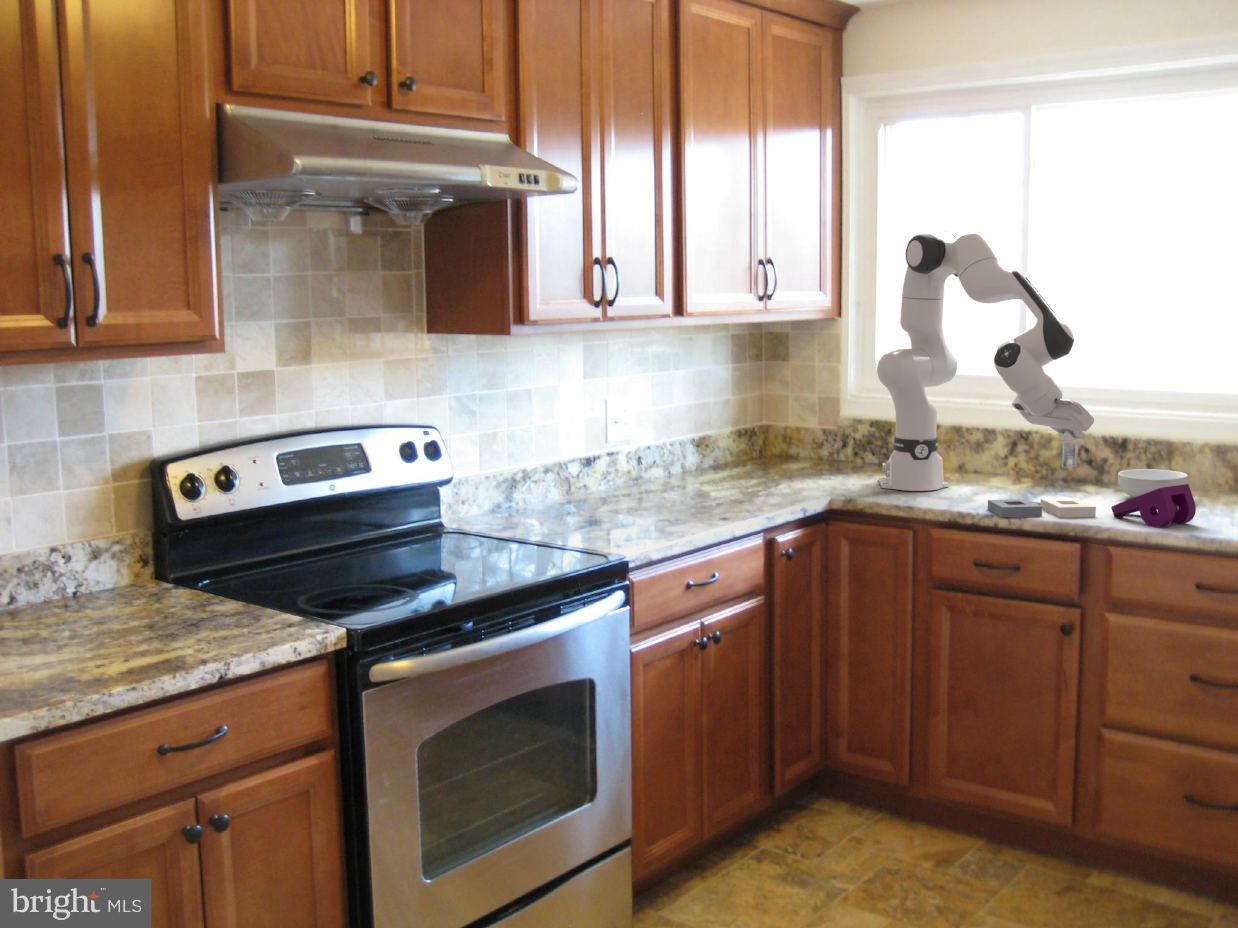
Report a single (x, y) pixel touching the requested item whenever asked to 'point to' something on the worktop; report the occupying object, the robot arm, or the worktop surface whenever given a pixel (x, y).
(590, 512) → the worktop surface
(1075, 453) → the capped cylinder peg
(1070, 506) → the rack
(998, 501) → the socket
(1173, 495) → the mounting bracket
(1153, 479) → the cereal bowl
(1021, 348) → the robot arm
